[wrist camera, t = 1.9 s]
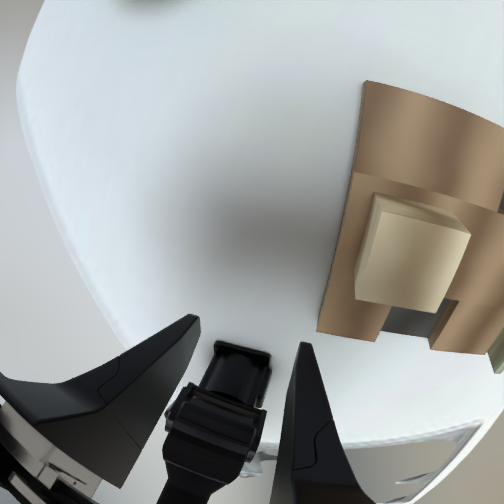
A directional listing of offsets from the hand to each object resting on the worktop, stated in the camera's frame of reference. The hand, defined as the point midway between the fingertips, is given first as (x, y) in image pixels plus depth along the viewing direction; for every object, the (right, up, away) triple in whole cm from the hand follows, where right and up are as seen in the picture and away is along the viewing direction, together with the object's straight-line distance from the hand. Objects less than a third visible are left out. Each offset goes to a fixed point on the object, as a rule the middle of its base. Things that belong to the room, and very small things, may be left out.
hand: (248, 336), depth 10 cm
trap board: (+16, +4, +8) cm, 18 cm away
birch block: (+11, +4, +8) cm, 14 cm away
